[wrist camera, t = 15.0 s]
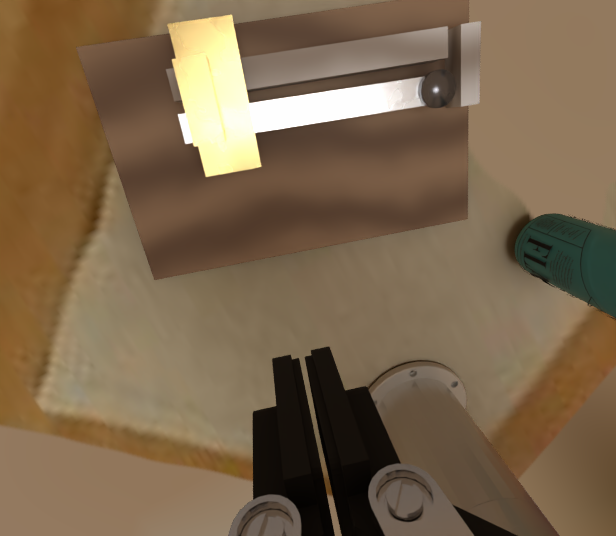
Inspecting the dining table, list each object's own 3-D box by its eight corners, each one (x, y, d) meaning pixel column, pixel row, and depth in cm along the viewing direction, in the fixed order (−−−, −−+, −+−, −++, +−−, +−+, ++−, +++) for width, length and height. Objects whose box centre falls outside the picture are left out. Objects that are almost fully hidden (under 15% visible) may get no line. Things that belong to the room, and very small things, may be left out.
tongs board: (459, 215, 37) (482, 225, 33) (158, 273, 35) (147, 291, 31) (459, -5, 30) (488, -22, 26) (84, 50, 28) (59, 40, 24)
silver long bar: (439, 106, 31) (456, 105, 29) (190, 146, 30) (185, 148, 27) (438, 71, 30) (456, 66, 28) (181, 110, 29) (175, 109, 26)
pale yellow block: (260, 162, 31) (262, 170, 25) (210, 170, 30) (202, 181, 25) (233, 28, 27) (230, 6, 22) (177, 36, 27) (160, 15, 22)
